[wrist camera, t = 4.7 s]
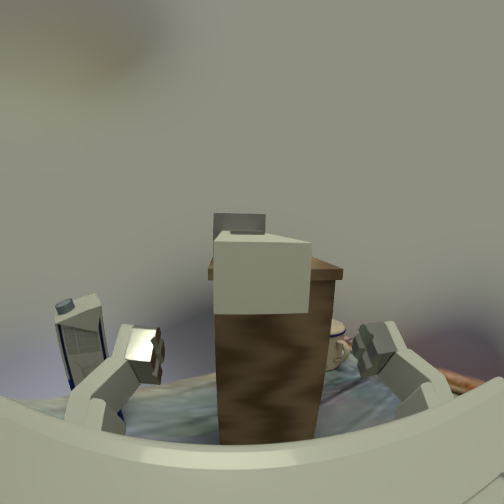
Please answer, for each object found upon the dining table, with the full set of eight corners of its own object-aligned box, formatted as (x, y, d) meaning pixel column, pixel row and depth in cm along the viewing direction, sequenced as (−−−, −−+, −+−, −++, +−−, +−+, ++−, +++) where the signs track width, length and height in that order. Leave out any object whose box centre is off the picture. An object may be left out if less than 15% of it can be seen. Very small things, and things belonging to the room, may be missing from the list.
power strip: (189, 313, 11) (189, 190, 11) (214, 252, 37) (215, 214, 36) (329, 311, 12) (335, 196, 11) (259, 252, 37) (260, 215, 37)
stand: (217, 471, 25) (208, 268, 23) (218, 406, 40) (215, 251, 38) (311, 464, 26) (343, 268, 24) (289, 404, 41) (300, 252, 39)
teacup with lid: (292, 360, 58) (296, 312, 57) (321, 350, 63) (326, 306, 62) (329, 382, 48) (336, 329, 47) (358, 368, 52) (366, 319, 51)
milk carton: (125, 425, 32) (101, 303, 30) (86, 432, 28) (52, 307, 26) (115, 401, 37) (95, 291, 35) (80, 406, 33) (54, 294, 31)
